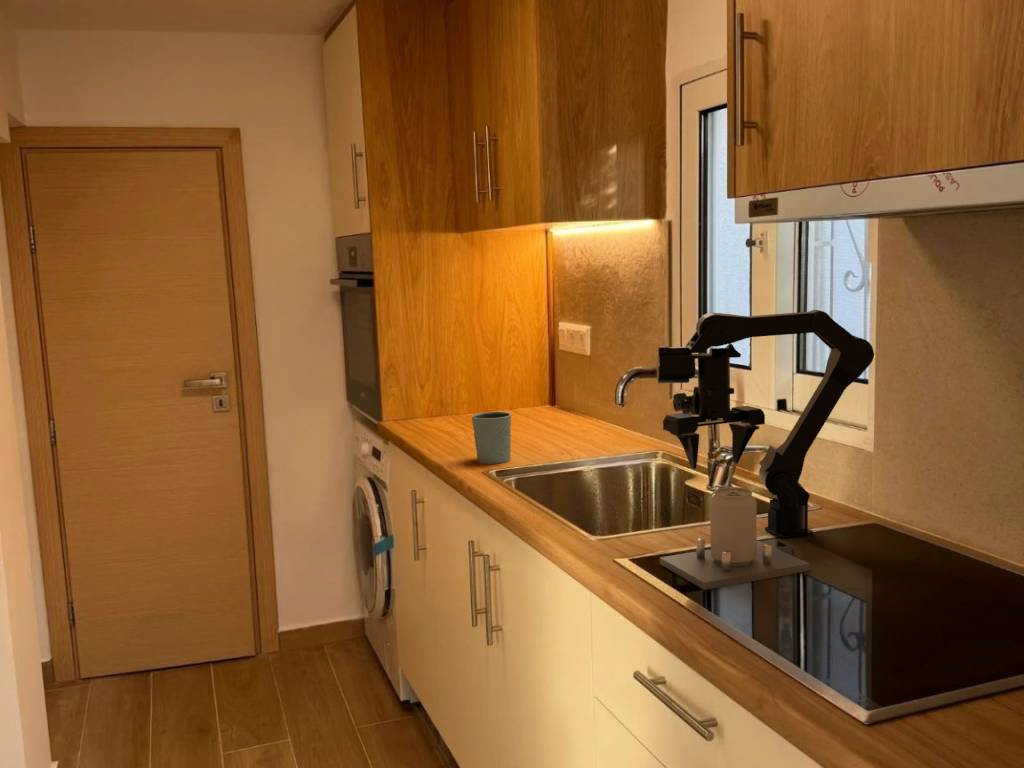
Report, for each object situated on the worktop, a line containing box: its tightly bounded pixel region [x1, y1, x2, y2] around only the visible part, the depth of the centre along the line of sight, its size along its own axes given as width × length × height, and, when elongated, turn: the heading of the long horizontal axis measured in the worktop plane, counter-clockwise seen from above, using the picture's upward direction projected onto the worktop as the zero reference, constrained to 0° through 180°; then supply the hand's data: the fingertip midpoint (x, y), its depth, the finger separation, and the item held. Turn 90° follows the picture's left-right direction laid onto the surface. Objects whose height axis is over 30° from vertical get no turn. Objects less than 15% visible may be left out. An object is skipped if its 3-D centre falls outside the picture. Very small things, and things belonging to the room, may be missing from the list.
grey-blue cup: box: [471, 411, 512, 465], centre depth 252 cm, size 10×10×12 cm
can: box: [709, 486, 758, 566], centre depth 162 cm, size 8×8×12 cm
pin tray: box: [659, 537, 811, 591], centre depth 163 cm, size 20×14×4 cm
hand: (714, 465), depth 181 cm, fingers open, 9 cm apart
